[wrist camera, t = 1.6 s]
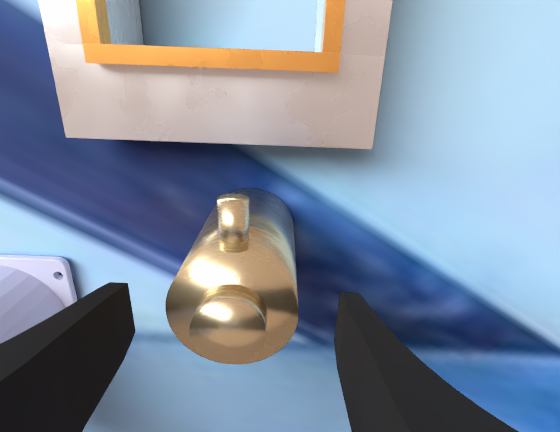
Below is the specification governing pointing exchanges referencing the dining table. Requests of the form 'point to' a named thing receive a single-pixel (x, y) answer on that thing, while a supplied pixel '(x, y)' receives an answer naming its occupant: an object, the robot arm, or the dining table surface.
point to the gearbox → (217, 79)
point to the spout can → (238, 281)
